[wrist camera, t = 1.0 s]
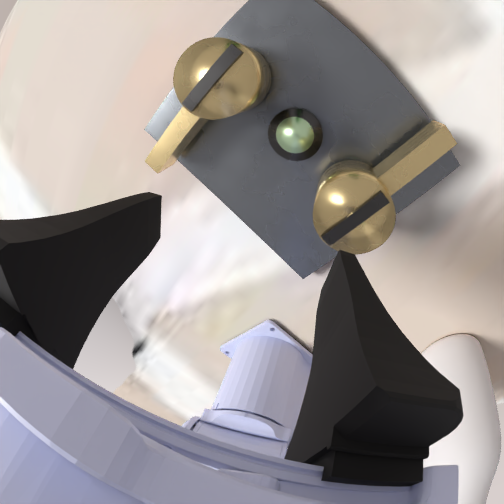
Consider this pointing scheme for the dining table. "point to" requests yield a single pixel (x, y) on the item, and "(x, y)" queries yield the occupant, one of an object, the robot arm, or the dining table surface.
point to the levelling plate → (301, 126)
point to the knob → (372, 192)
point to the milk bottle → (468, 417)
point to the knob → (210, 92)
